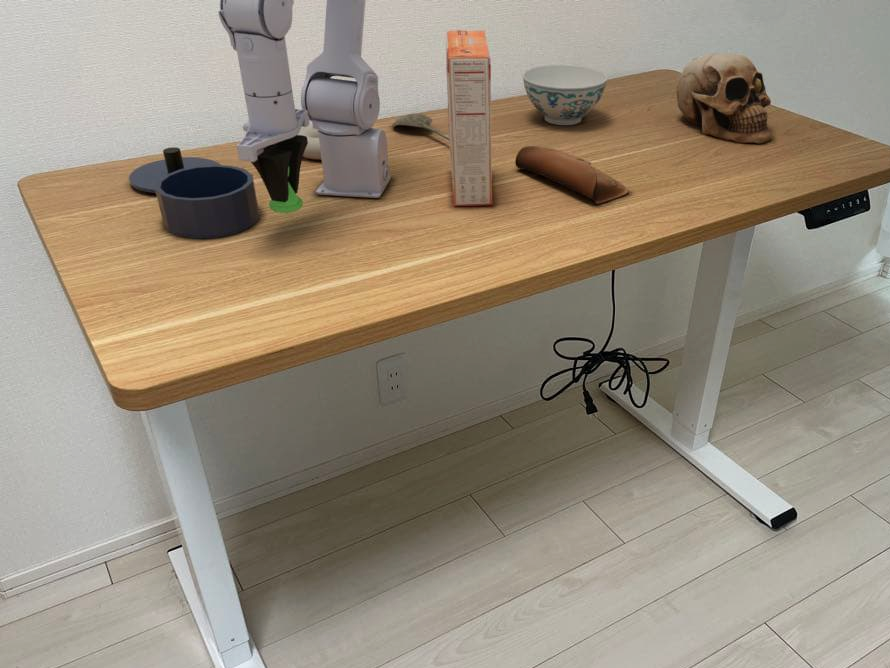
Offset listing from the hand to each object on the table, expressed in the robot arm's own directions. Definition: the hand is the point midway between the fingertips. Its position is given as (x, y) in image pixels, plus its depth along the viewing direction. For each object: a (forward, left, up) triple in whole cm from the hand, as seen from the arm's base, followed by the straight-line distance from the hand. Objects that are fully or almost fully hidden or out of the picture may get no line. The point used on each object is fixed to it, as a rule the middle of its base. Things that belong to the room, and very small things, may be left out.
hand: (284, 196), depth 111 cm
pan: (+12, -2, -5) cm, 13 cm away
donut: (+4, -30, -5) cm, 31 cm away
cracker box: (-22, -18, -5) cm, 29 cm away
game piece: (0, 0, -2) cm, 2 cm away
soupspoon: (-13, -38, -5) cm, 40 cm away
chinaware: (-34, -53, -5) cm, 63 cm away
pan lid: (+22, -15, -4) cm, 27 cm away
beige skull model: (-63, -53, -5) cm, 82 cm away
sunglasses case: (-37, -23, -5) cm, 44 cm away
